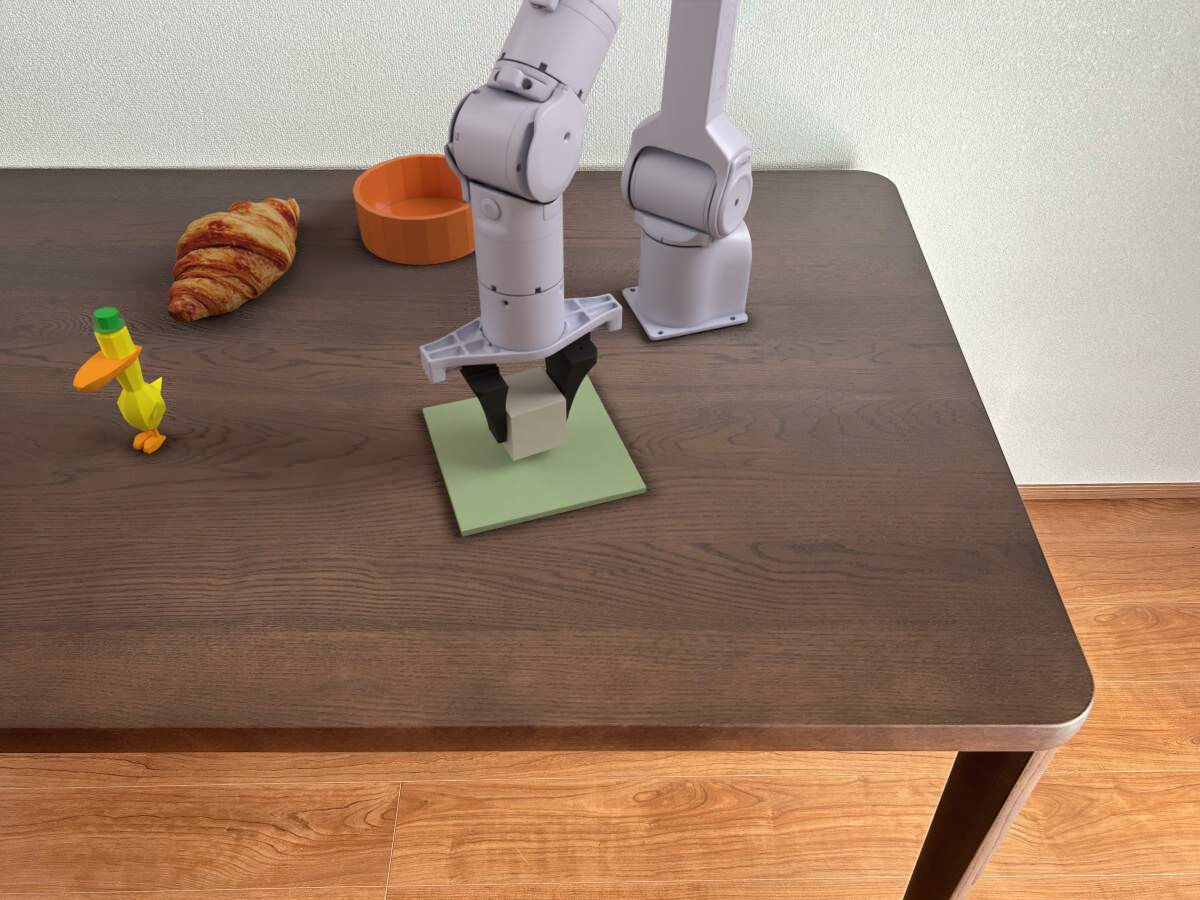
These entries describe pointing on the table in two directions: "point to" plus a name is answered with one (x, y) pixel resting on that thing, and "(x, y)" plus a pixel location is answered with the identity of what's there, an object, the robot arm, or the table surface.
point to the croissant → (232, 257)
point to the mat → (529, 465)
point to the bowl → (414, 211)
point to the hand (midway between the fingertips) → (528, 424)
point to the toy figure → (124, 378)
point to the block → (533, 414)
